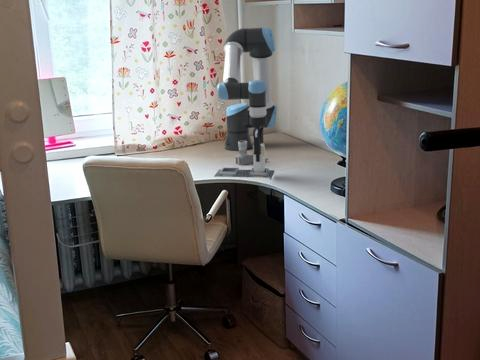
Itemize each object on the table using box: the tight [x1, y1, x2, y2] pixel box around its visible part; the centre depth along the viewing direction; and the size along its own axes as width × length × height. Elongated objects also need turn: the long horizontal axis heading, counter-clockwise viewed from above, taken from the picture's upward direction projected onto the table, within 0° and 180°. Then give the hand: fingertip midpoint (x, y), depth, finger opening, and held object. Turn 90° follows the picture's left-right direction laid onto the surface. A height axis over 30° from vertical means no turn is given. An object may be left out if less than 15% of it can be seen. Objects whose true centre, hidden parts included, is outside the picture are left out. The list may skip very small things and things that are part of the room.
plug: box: [252, 142, 266, 172], centre depth 288 cm, size 4×5×13 cm
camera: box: [234, 141, 269, 166], centre depth 310 cm, size 9×12×15 cm
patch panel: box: [213, 167, 275, 180], centre depth 292 cm, size 12×26×2 cm, turn 79°
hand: (259, 166), depth 289 cm, fingers closed on plug, 4 cm apart
